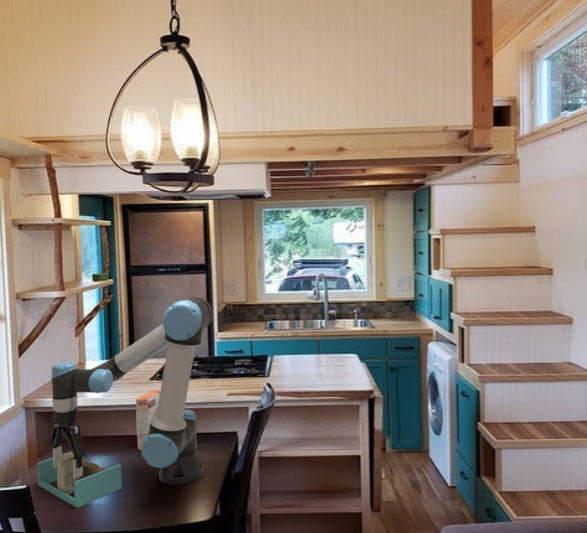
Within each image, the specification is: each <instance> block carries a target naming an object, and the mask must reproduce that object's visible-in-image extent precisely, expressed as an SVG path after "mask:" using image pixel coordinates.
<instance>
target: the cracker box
mask: <svg viewBox="0 0 587 533" xmlns="http://www.w3.org/2000/svg"><path fill="white" fill-rule="evenodd" d="M160 390H161V389H151V390H149V391H148V392H146V393H145V394H142V395H141V396H139V397H137V398H136V399H135V408H136V411H135V412H136V413H135V414H136V437H137V439H136V440H137V450H138V451H141V446H142V443H143V441H144V439H145V438H146V437H147V436H148V432H149V426H150V421H151V419H152V418H153V417H155V416H156V414H157V408H158V402H159V396H160Z"/></svg>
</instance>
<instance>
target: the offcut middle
mask: <svg viewBox="0 0 587 533" xmlns="http://www.w3.org/2000/svg"><path fill="white" fill-rule="evenodd" d="M83 468H84V478H85V477H88V476H91V475H93V474H94V470H96V469H98V468H100V465H99V464H97V463H94V462H92V461H90V462H89V463H88V464H85V465H83Z"/></svg>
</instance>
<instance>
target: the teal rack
mask: <svg viewBox="0 0 587 533" xmlns="http://www.w3.org/2000/svg"><path fill="white" fill-rule="evenodd" d="M70 452H72V450H71V451H69V452H65V453H62V455H64V454H67V453H70ZM82 458H83V459H84V457H82ZM105 469H106V470H103V471H101V472H98V473H96V474H93V475H91V476H88V477H85V478H83V479H82V478H81V479H80V480H78V481H75V482H74V492H73V494H74V497H73V496H72V495H70V494H66V493H64V492H63V491H61V490H59V489H58V487H55V486H54V485H52V484H51V483H53V482H56V481H57V467H55V468H54V464H53V457H50V458H48V459H45V460H42V461H40V462H39V461H38V462H37V483H38V487H40V486H41V487H40V488H41V489H43V488H44V490H45V491H46V492H48V491H49V493H50V494H51V495H54V496H56V497H57V498H59V499H61V500H62V501H64V502H66V503H68V504H69V505H71V506H72V507H75V508H80V507H82V506H84V505H87V504H89V503H91V502H93V500H94V501H96V500H98V499H101V498H103V497H104V496H107V495H110V494H112V493H115V492H117V491H119V490H122V488H123V484H122V483H123V482H122V466H121V464H116V465H114V466H111V467H109V468H105ZM50 482H51V483H50ZM102 496H103V497H102ZM100 497H101V498H100Z"/></svg>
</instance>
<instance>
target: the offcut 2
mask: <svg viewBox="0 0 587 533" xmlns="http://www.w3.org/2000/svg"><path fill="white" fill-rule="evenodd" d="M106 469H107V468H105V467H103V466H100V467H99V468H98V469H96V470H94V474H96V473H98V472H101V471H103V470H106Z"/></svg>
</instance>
